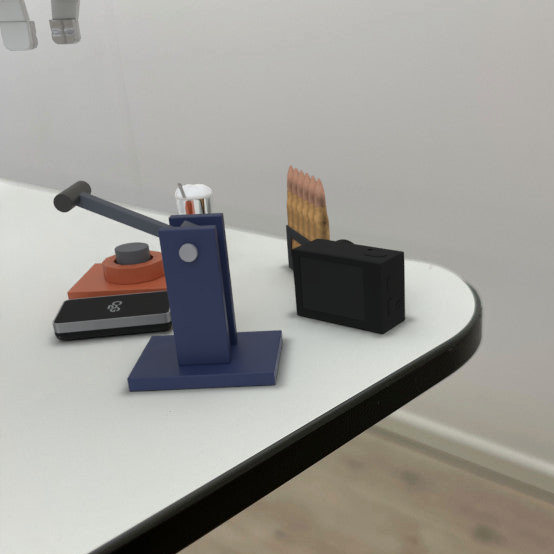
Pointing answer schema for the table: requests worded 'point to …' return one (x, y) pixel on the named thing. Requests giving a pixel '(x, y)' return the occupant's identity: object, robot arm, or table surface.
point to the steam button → (132, 253)
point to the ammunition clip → (305, 211)
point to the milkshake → (194, 199)
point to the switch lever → (107, 209)
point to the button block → (121, 278)
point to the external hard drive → (113, 315)
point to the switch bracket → (203, 318)
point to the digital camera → (350, 284)
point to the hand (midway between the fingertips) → (46, 47)
